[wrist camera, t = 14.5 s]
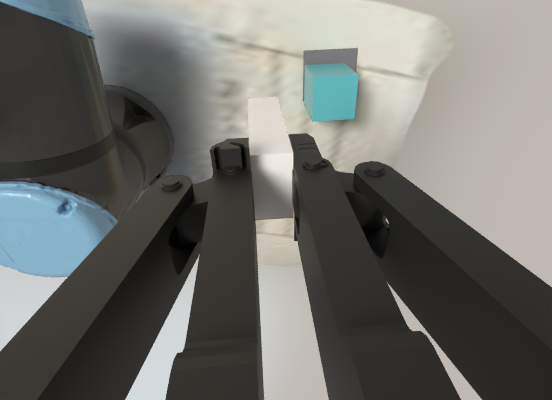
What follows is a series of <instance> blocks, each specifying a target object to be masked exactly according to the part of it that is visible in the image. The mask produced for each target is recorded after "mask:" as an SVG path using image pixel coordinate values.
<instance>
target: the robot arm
mask: <svg viewBox="0 0 552 400" xmlns="http://www.w3.org/2000/svg"><path fill="white" fill-rule="evenodd" d="M93 39H95V37H94V33H93V32H92V31H91V30H90V28H89V25H88V21H87V18H86V14H85V11H84V7H83V4H82V0H0V264H1V265H3V266H5V267H9V268H12V269H15V270H17V271H19V272H23V273H26V274H30V275H36V276H43V277H68V276H69V277H68V278H67V279H66V280H65V281H64V282H63V283H62V284H61V285H60V287H59V288H58V289H57V290H56V291H55V292H54V293H53V294H52V295H51V296H50V297H49V299H48V300H47V301H46V302H45V303H44V304H43V305H42V306H41V308H39V310H38V311H37V312H36V313H35V314H34V315H33V316H32V317H31V319H30V320H29V321H28V322H27V323H26V324H25V325H24V326H23V327H22V328H21V329H20V330H19V332H18V333H17V334H16V335H15V336H14V337H13V338H12V339H11V340H10V341H9V343H8V344H7V345H6V346H5V347H4V348H3V349H2V350H1V351H0V400H125V398H126V397H127V395H128V393H129V391H130V389H131V387H132V385H133V383H134V381H135V379H136V377H137V375H138V373H139V371H140V369H141V367H142V365H143V363H144V362H145V360H146V358H147V356H148V354H149V352H150V349H151V348H152V346H153V344H154V342H155V340H156V338H157V336H158V334H159V332H160V330H161V328H162V326H163V324H164V322H165V320H166V318H167V316H168V315H169V312H170V311H171V309H172V307H173V304H174V303H175V301H176V299H177V297H178V294H179V293H180V291H181V289H182V287H183V285H184V283H185V281H186V279H187V277H188V275H189V273H190V271H191V269H192V267H193V265H194V264H195V262H196V260H197V258H198V256H199V254H200V256H199V262H198V269H197V275H196V281H195V287H194V294H193V299H192V305H191V312H190V318H189V324H188V330H187V337H186V343H185V347H184V350H183V352H181V353H177V355H176V357H175V358H174V361H173V365H172V369H171V373H170V378H169V384H168V389H167V394H166V400H264V389H263V368H262V347H261V326H260V306H259V285H258V263H257V242H256V224H255V220H266V219H280V218H293V209H294V241H298V246H299V251H300V256H301V261H302V266H303V271H304V276H305V281H306V286H307V291H308V296H309V301H310V306H311V312H312V316H313V322H314V326H315V332H316V337H317V341H318V347H319V352H320V357H321V362H322V367H323V372H324V377H325V382H326V387H327V392H328V397H329V400H461V399H460V397H459V395H458V393H457V391H456V389H455V387H454V386H453V383H452V381H451V380H450V378H449V376H448V374H447V372H446V370H445V368H444V366H443V364H442V362H441V360H440V358H439V356H438V355H437V352H436V350H435V348H434V347H433V345H432V343H431V342H430V340H429V339H428V337H427V336H426V335H425V334H424V333H422V332H421V331H412V330H410V329H409V327H408V326H407V324H406V322H405V320H404V318H403V316H402V314H401V312H400V309H399V307H398V305H397V303H396V301H395V299H394V297H393V294H392V293H391V290H390V288H389V286H388V284H389V285H390V286H391V287H392V288H393V290H394V291H395V292H396V293H397V295H398V296H399V297H400V298H401V300H402V301H403V302H404V303H405V305H406V306H407V307H408V308H409V309H410V310H411V312H412V313H413V314H414V316H415V317H416V318H417V319H418V321H419V322H420V323H421V324H422V326H423V327H424V328H425V329H426V331H427V332H428V333H429V334H430V336H431V337H432V338H433V339H434V341H435V342H436V343H437V344H438V345H439V347H440V348H441V349H442V350H443V352H444V353H445V354H446V355H447V357H448V358H449V359H450V360H451V362H452V363H453V364H454V365H455V366H456V368H457V369H458V370H459V371H460V373H461V374H462V375H463V376H464V378H465V379H466V380H467V381H468V383H469V384H470V385H471V386H472V388H473V389H474V390H475V391H476V392H477V394H478V395H479V396H480V397H481V399H482V400H552V287H550V286H549V285H548V284H546V283H545V282H544V281H542V280H541V279H540V278H538V277H537V276H536V275H534V274H533V273H532V272H530V271H529V270H528V269H526V268H525V267H524V266H522V265H521V264H520V263H518V262H517V261H516V260H514V259H513V258H511V257H510V256H509V255H508V254H506V253H505V252H504V251H502V250H501V249H500V248H498V247H497V246H496V245H494V244H493V243H492V242H490V241H489V240H488V239H486V238H485V237H484V236H482V235H481V234H480V233H478V232H477V231H476V230H474V229H473V228H471V227H470V226H469V225H467V224H466V223H465V222H464V221H462V220H461V219H459V218H458V217H457V216H456V215H454V214H453V213H451V212H450V211H449V210H447V209H446V208H445V207H443V206H442V205H441V204H439V203H438V202H437V201H435V200H434V199H433V198H431V197H430V196H429V195H427V194H426V193H425V192H423V191H422V190H421V189H419V188H418V187H417V186H415V185H414V184H413V183H411V182H410V181H409V180H407V179H406V178H405V177H403V176H402V175H401V174H399V173H398V172H397V171H395V170H394V169H393V168H391V167H390V166H388V165H386V164H382V163H380V162H374V161H370V162H364V163H361V164H358V165H357V166H356V167H355V170H354V174H353V173H344V172H338V171H335V170H334V168H333V166H332V164H331V163H330V162H329V161H328V160H326V159H324V158H322V156H321V154H320V152H319V149H318V147H317V145H316V143H315V140H314V138H313V137H311V136H310V135H308V134H307V133H306V134H289V135H288V132H287V129H286V125H285V122H284V118H283V115H282V111H281V107H280V104H279V100H278V97H266V98H248V128H249V138H236V139H226V140H225V141H224V142H221V143H218V144H216V145H214V146H212V148H211V149H210V154H211V160H212V167H213V176H212V178H211V179H209V180H207V181H205V182H202V183H198V184H194V185H192V181H191V179H190V178H188V177H186V176H182V175H170V176H166V177H164V178H162V179H160V178H161V176H162V175H163V174H164V173H165V171H166V169H167V167H168V165H169V163H170V160H171V157H172V154H173V138H172V133H171V130H170V128H169V125H168V123H167V121H166V120H165V118H164V117H163V115H162V114H161V113H160V111H159V110H158V109H157V108H156V107H155V106H154V105H153V104H152V103H151V102H150V101H148V100H147V99H146V98H144V97H143V96H141V95H139V94H137V93H135V92H133V91H131V90H128V89H126V88H122V87H118V86H112V85H104V84H103V80H102V75H101V71H100V67H99V63H98V58H97V54H96V50H95V46H94V41H93ZM149 186H151V187H150V188H149V189H148V190H147V191H146V192H145V193H144V194H143V195H142V196H141V198H140V199H139V200H138V201H137V199H138V197H139V195H140V193H141V191H143V190H144V189H146V188H147V187H149ZM136 201H137V202H136ZM386 218H387V220H388V222H389V224H388V223H387V222H386ZM386 281H387V282H388V284H387V282H386Z"/></svg>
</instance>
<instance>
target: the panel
mask: <svg viewBox="0 0 552 400" xmlns="http://www.w3.org/2000/svg"><path fill="white" fill-rule="evenodd" d="M357 49H358V48H351V49H330V50H309V51H304V76H303V101H304V89H305V65H314V64H333V63H345V64H346V65H348V66H349V67H350V68H351V69H352V70H354V71H355V69H356V59H357Z"/></svg>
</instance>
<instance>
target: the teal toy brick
mask: <svg viewBox="0 0 552 400" xmlns="http://www.w3.org/2000/svg"><path fill="white" fill-rule="evenodd" d="M358 79H359V74H357V73H356V72H355V71H354V70H352V69H351V68H350V67H349V66H348V65H346V64H345V63H333V64H314V65H305V89H304V105H305V107H306V109H307V112H308V114H309V116H310V118H311V120H312V122H313V121H330V120H347V119H354V118H355V109H356V99H357V89H358Z"/></svg>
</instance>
